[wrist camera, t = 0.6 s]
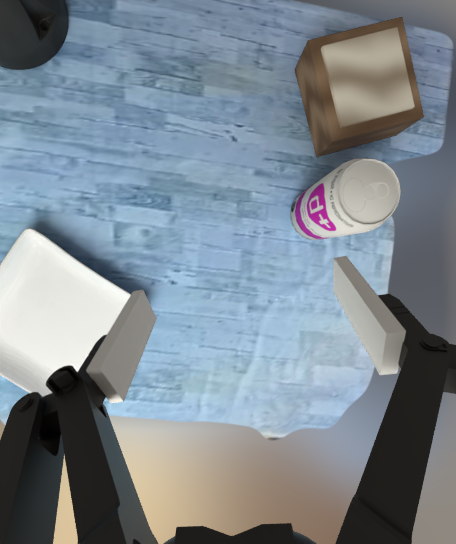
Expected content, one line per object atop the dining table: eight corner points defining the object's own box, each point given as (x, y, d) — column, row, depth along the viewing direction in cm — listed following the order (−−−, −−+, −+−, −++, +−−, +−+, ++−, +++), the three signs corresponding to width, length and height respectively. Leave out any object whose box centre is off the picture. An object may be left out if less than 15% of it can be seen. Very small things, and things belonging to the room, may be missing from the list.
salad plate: (-34, 337, 40) (-58, 345, 36) (40, 226, 40) (24, 224, 36) (82, 407, 42) (70, 420, 38) (154, 301, 41) (149, 305, 38)
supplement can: (293, 244, 42) (338, 237, 27) (284, 195, 41) (326, 159, 26) (340, 235, 42) (410, 223, 27) (332, 186, 42) (399, 146, 27)
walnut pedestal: (294, 70, 40) (309, 37, 34) (376, 49, 41) (404, 13, 35) (316, 157, 41) (334, 140, 35) (396, 135, 42) (426, 114, 36)
